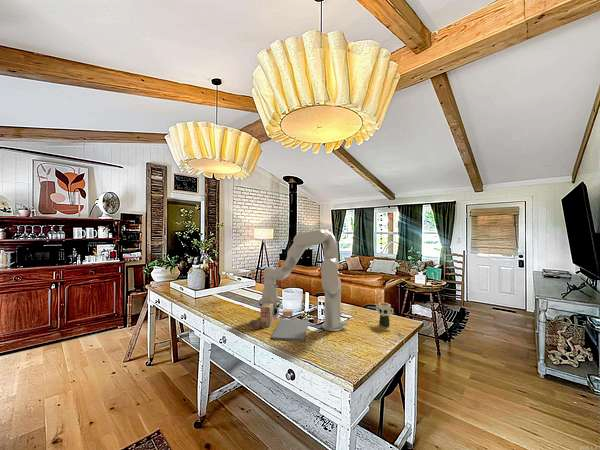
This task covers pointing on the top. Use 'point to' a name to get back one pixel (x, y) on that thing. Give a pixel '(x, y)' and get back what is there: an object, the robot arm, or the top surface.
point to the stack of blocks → (268, 314)
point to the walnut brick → (254, 324)
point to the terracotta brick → (287, 313)
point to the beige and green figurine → (384, 313)
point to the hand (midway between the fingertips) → (269, 314)
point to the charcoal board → (291, 330)
